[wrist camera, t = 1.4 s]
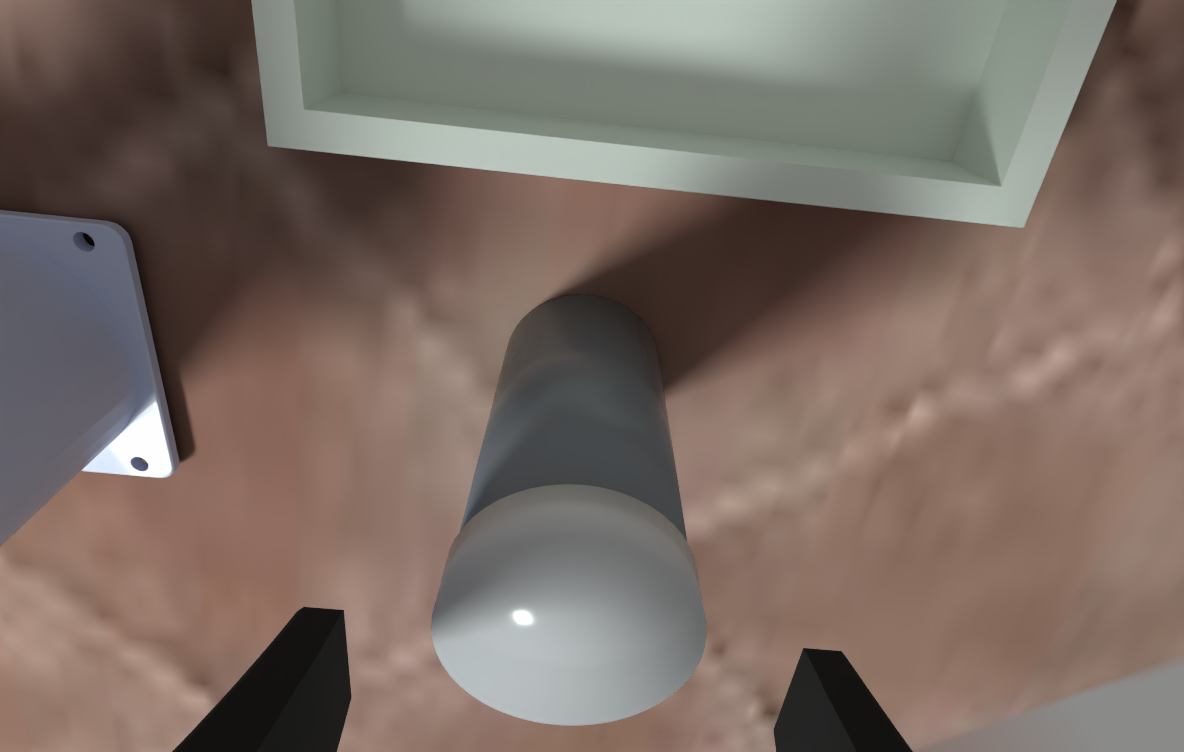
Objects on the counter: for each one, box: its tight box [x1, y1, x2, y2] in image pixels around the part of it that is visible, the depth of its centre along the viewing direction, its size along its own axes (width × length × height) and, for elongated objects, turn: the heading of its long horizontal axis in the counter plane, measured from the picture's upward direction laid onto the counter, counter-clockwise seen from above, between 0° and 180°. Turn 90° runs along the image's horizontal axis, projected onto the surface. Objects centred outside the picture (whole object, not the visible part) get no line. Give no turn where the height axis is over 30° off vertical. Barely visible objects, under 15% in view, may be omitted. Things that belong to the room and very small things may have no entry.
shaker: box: [431, 295, 706, 725], centre depth 16 cm, size 5×5×10 cm
